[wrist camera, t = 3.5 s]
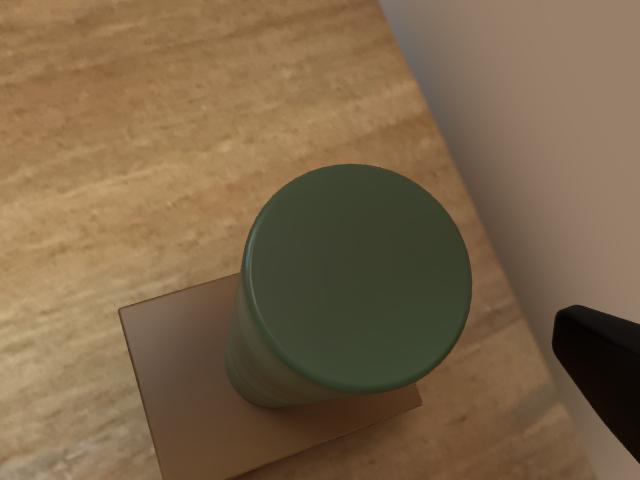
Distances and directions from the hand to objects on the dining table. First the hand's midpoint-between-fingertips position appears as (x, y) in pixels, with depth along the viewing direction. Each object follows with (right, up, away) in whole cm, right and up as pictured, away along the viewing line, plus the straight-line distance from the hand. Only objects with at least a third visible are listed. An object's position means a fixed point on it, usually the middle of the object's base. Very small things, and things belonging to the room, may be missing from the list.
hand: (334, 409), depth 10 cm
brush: (-2, -1, +9) cm, 9 cm away
